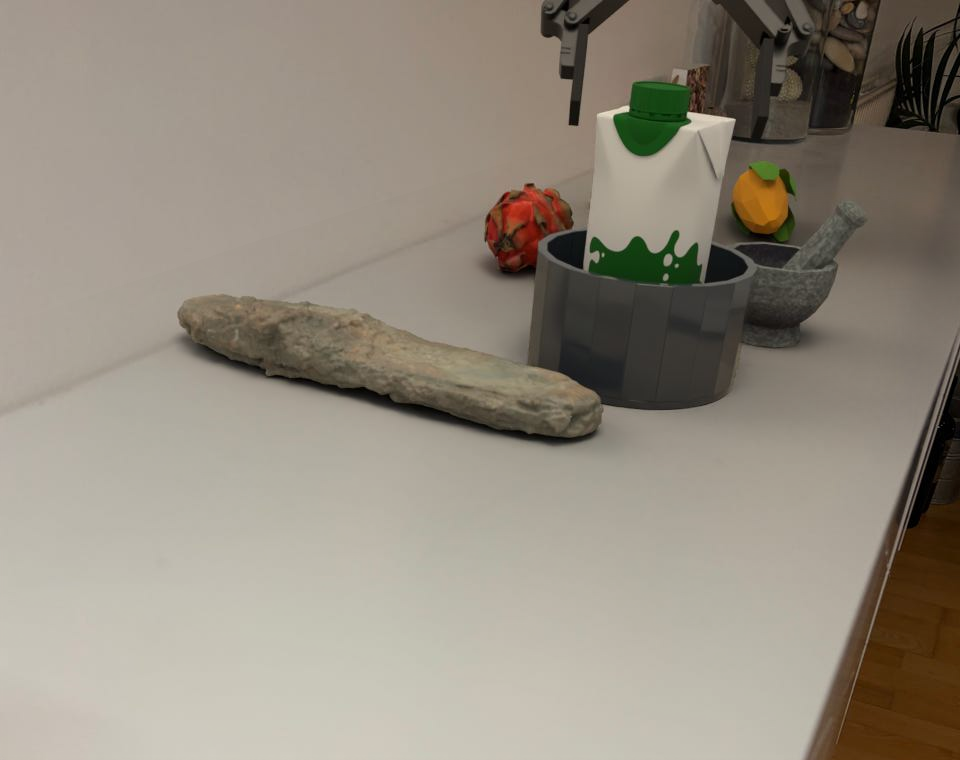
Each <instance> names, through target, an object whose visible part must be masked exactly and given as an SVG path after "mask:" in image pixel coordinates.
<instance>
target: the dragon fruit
mask: <svg viewBox="0 0 960 760" xmlns="http://www.w3.org/2000/svg"><path fill="white" fill-rule="evenodd" d="M571 207H572V206H570V204H569V203H568V202H567V201H566V200H564V199H563V198H562V197H561V194H560V192H559V190H557V189H556V188H551V187H547V188H545V189H544V191H542V190H541V188H537V187H536V186H535V183H534V182H525V183H524V185H523V188H522V190H516V189H510V190H507V191H506V192H504V193H503V194H502V195H501V196H500V197H499V199H498V200H497V201H496V203H495V204H494V206H492V208H491V209H490V210H489V211H488V213H487V214H486V217H485V219H484V233H483V235H484V236H483V241H484V242H485V243H487V246H488V248H489V250H490V251H491V253H492V255H493V256H494V257H495V258H497V259H496V260H497V262H498V266H497V271H499V272H501V273H503V272H510V273H516V272H518V271H520V270H521V269H523V268H526V267H527V266H532V267H533V268H534V269H535V270H536V263H537V252H538V242H539V241H541V240H542V239H544V238H545V237H547V236H548V235H550V234H554V233H558V232H562V231H566V230H571V229H573V227H574V225H575V221H574V220H573V218H572V216H573V210H572V208H571Z"/></svg>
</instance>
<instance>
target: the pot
mask: <svg viewBox="0 0 960 760" xmlns="http://www.w3.org/2000/svg"><path fill="white" fill-rule="evenodd" d="M587 228H588V227H583V228H572V229H571V230H566V231H562V232H558V233H554V234H550V235H548V236H547V237H545V238H544V239H542V240H541V241H539V242H538V252H537V263H536V269H535V275H534V285H533V286H534V287H533V296H532V307H531V317H530V327H529V328H530V330H529V340H528V349H527V350H528V352H527V366H531V367H539V368H543V369H547V370H550V371H555V372H559V373H561V374H564V375H565V376H568V377H569V378H571V379H572V380H573V381H576V382H578V383H579V384H580V385H582V386H583V387H585V388H588V389H590V390H593V391H594V392H596V394H597V395H599V397H600V399H601V404H603V405H609V406H614V407H622V408H629V409H641V410H642V409H643V410H675V409H678V410H679V409H688V408H694V407H700V406H703V405H709V404H711V403H714V402H716V401H718V400H720V399H723V398H724V397H725V396H726V395H728V394H729V393H730V391H731V390H732V388H733V385H734V381H735V379H736V376H737V372H738V367H739V361H740V358H741V352H742V348H743V343H744V342H743V338H744V333H745V328H746V323H747V319H748V314H749V309H750V304H751V299H752V294H753V289H754V285H755V280H756V275H757V270H758V268H757V267H756V265H755V263H754V261H753V260H752V259H751V258H749V257H748V256H746V255H744V254H743V253H741V252H739V251H738V250H736V249H733V248H730V247H727V246H728V245H724V244H722V243H719V242H716V241H713V240H712V242H711V248H710V253H709V259H708V264H707V270H706V275H705V281H704V284H664V283H652V282H640V281H634V280H628V279H622V278H616V277H610V276H604V275H600V274H596V273H593V272H589V271H585V270H583V263H584V254H585V246H586V237H587Z"/></svg>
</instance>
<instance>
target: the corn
mask: <svg viewBox="0 0 960 760" xmlns="http://www.w3.org/2000/svg"><path fill="white" fill-rule="evenodd" d="M789 194H790V195H792V196H793V197H794V202H797V184H796V181H795V179H794V178H793V176H792V175H791V173H790V171H788V170H787V169H786V168H779V166H778V164H776V163H774V162H769V161H765V160H759V161H756V162H752V163H749V164H748V169H747V170H746V171H745V172H743V173H742V174H741V175H739V177H738V179H737V181H736V183H735V185H734V186H733V191H732V202H731V204H730V209H731V215H732V216H733V218H734V220H735V222H736V223H737V226H738V227H739V229H740V230H741V231H742V233H743V234H745V235H747V236H751V232H752V233H756V234H765V235H770V234H772V235H773V237H774V238H775V239H776V240H777V241H778V242H779V243H781V242H786V241H788V240H789V239H790V238H791V236H792V235H793V232H794V229H795V226H796V221H795V219H796V218H795V216H794V213H793V211H792V209H791V207H790V205H789Z"/></svg>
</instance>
